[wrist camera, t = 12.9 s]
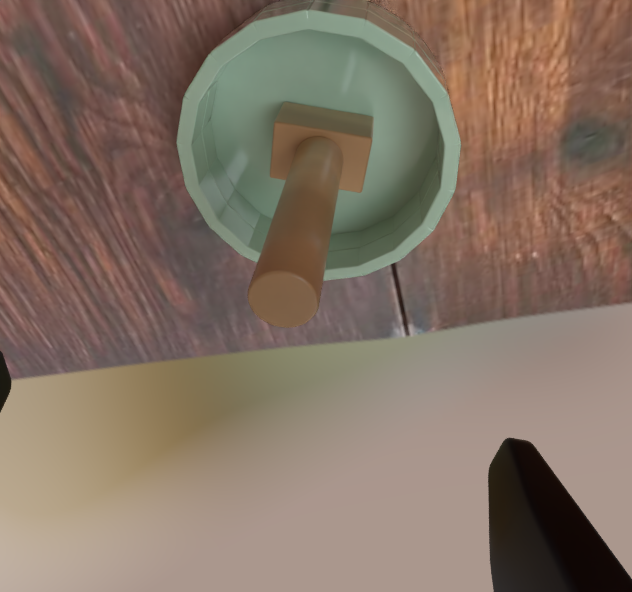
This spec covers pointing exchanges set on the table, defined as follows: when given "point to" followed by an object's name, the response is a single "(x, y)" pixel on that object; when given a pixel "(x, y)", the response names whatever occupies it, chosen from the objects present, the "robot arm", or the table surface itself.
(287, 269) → the stirring stick
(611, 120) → the table surface
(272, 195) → the bowl
